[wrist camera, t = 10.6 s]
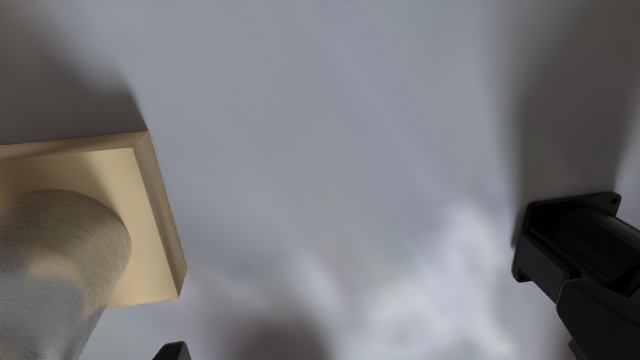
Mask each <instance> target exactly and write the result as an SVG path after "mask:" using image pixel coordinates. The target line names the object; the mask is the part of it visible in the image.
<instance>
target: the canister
mask: <svg viewBox="0 0 640 360" xmlns="http://www.w3.org/2000/svg"><path fill="white" fill-rule="evenodd" d="M131 254H132V243H131V238H130V235H129V232H128V230H127V228H126V226H125V225H124V223H123V222H122V220H121V219H120V218H119V217H118V216H117V215H116V214H115V213H114V212H113V211H112V210H111V209H110V208H108V207H107V206H105V205H104V204H103V203H101V202H99V201H97V200H96V199H93V198H91V197H89V196H87V195H84V194H81V193H78V192H74V191H69V190H62V189H42V190H36V191H31V192H28V193H25V194H22V195H20V196H18V197H16V198H15V199H13V200H12V201H11V202H9V203H8V204H7V205H5V206H4V207H3V208H1V209H0V360H78V358H79V357H80V355H81V353H82V351H83V349H84V347H85V345H86V343H87V341H88V340H89V338H90V336H91V334H92V332H93V330H94V328H95V326H96V324H97V323H98V321H99V319H100V317H101V315H102V313H103V311H104V309H105V307H106V306H107V304H108V302H109V300H110V298H111V296H112V294H113V292H114V290H115V289H116V287H117V285H118V283H119V281H120V279H121V277H122V275H123V273H124V272H125V270H126V268H127V266H128V264H129V261H130V259H131Z"/></svg>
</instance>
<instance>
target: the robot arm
mask: <svg viewBox="0 0 640 360" xmlns="http://www.w3.org/2000/svg"><path fill="white" fill-rule="evenodd" d="M620 202H621V196H620V195H619V194H617V193H615V192H605V193H597V194H590V195H582V196H575V197H567V198H559V199H552V200H544V201H537V202H533V203H531V204H530V205H529V206H528V208H527V211H526V215H525V220H524V225H523V229H522V234H521V239H520V243H519V248H518V253H517V257H516V262H515V267H514V271H513V277H514V279H515V280H516V281H517V282H519V283H522V282H528V281H533V282H534V283H535V284H536V285H537V286H538V287H539V288H540V289H541V290H542V291H543V292H544V293H545V294H546V295H547V296H548V297H549V298H550V299H551V300H552V301H553V302H554V303H555V304H556V310H557V313H558V315H559V317H560V319H561V320H562V322H563V324H564V325H565V327H566V328H567V330H568V331H569V333H570V335H571V336H572V339H571V341H570V342H569V343H568V346H569V347H570V349H571V350H572V352H573V353H574V355H575V357H576V359H577V360H640V230H638V229H636V228H635V227H633V226H631V225H630V224H628V223H626V222H624V221H623V220H621V219H619V218H618V217H616V214H617V211H618V208H619V205H620ZM536 209H537V210H536ZM152 360H191V357H190V354H189V351H188V348H187V345H186V343H185V342H184V341H179V342H172V343H167V344H165V345H164V346H163V347H162V348H161V349H160V350H159V352H158V353H157V354H156V355H155V357H154V358H153V359H152Z"/></svg>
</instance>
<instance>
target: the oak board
mask: <svg viewBox="0 0 640 360" xmlns="http://www.w3.org/2000/svg"><path fill="white" fill-rule="evenodd" d="M42 189H62V190H69V191H74V192H78V193H81V194H84V195H87V196H89V197H91V198H93V199H96V200H97V201H99V202H101V203H103V204H104V205H105V206H107V207H108V208H110V209H111V210H112V211H113V212H114V213H115V214H116V215H117V216H118V217H119V218H120V219H121V220H122V222H123V223H124V225H125V226H126V228H127V230H128V232H129V235H130V238H131V243H132V254H131V259H130V261H129V264H128V266H127V268H126V270H125V272H124V273H123V275H122V277H121V279H120V281H119V283H118V285H117V287H116V289H115V290H114V292H113V294H112V296H111V298H110V300H109V302H108V304H107V306H106V307H105V309H108V308H115V307H122V306H129V305H136V304H143V303H150V302H157V301H164V300H171V299H178V298H179V295H180V292H181V289H182V285H183V282H184V278H185V275H186V272H187V267H186V264H185V260H184V257H183V253H182V250H181V246H180V242H179V239H178V235H177V232H176V228H175V225H174V221H173V217H172V214H171V210H170V207H169V203H168V200H167V196H166V192H165V189H164V185H163V182H162V178H161V175H160V171H159V167H158V164H157V160H156V157H155V153H154V150H153V146H152V142H151V139H150V135H149V132H148V131H141V132H131V133H121V134H110V135H100V136H90V137H80V138H70V139H60V140H50V141H40V142H30V143H20V144H10V145H0V209H1V208H3V207H4V206H5V205H7V204H8V203H9V202H11V201H12V200H13V199H15V198H16V197H18V196H20V195H22V194H25V193H28V192H31V191H36V190H42Z"/></svg>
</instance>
